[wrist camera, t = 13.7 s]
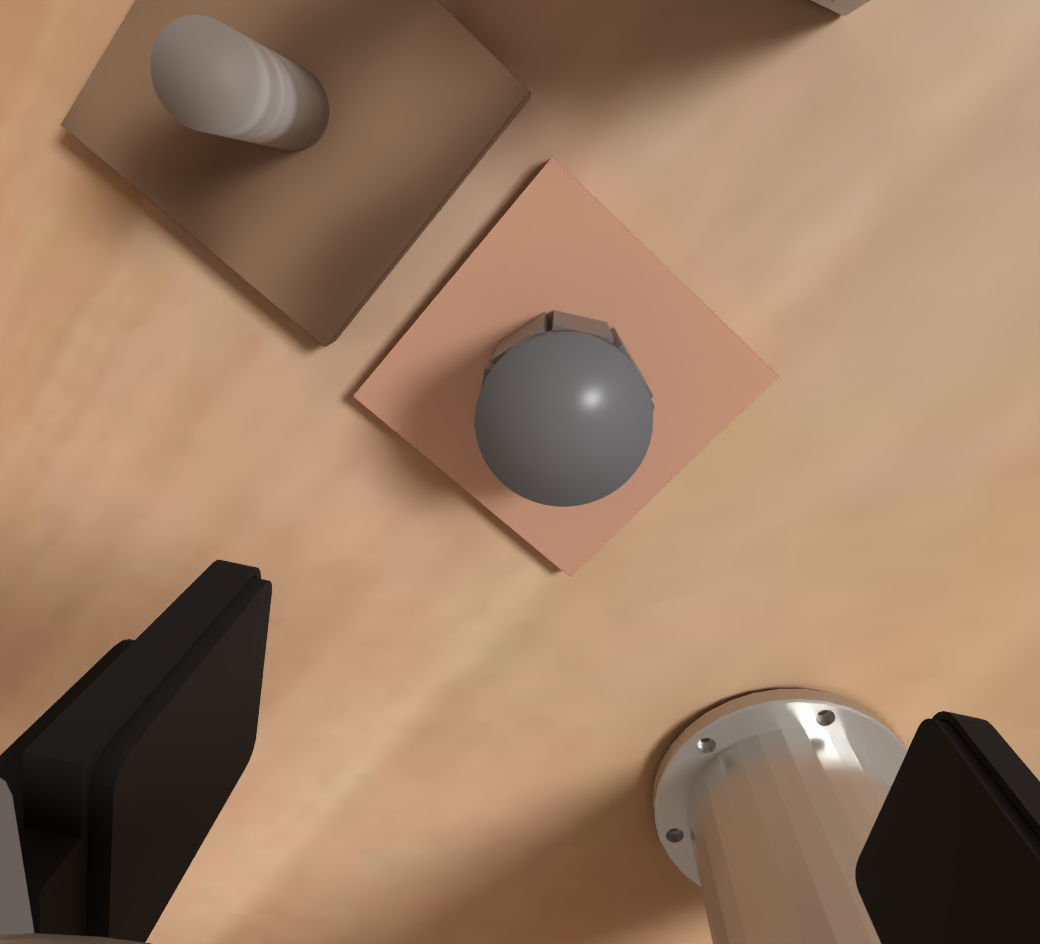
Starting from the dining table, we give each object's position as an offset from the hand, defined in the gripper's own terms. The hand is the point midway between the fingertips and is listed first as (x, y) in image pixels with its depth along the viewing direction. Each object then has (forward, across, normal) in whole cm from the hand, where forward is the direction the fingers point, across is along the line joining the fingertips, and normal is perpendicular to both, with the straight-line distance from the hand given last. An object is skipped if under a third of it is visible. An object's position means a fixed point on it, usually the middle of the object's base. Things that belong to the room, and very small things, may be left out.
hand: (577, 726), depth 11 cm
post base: (+22, +12, -8) cm, 26 cm away
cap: (+21, 0, 0) cm, 21 cm away
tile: (+22, 0, 0) cm, 22 cm away
